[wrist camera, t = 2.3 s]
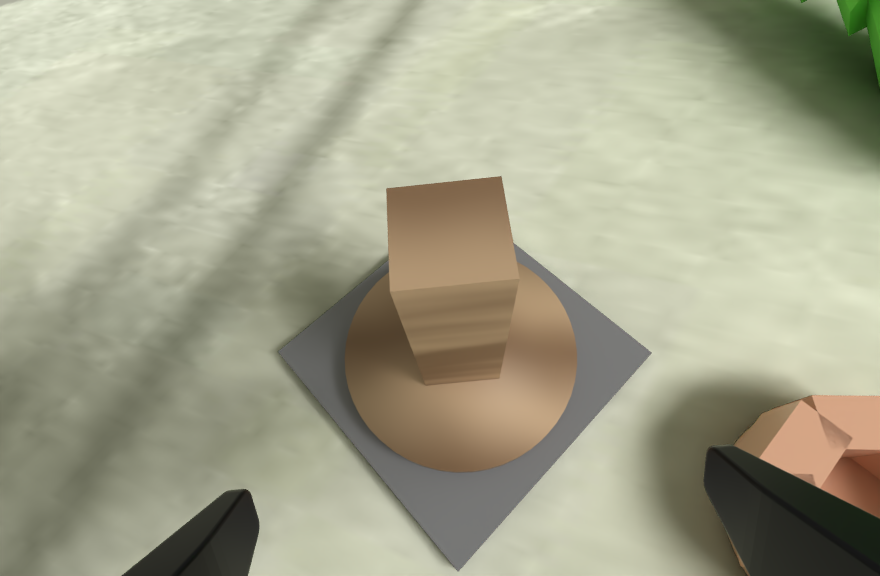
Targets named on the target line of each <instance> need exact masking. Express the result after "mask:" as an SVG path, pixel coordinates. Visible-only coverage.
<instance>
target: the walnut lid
mask: <svg viewBox="0 0 880 576" xmlns="http://www.w3.org/2000/svg"><path fill="white" fill-rule="evenodd" d="M386 191H387V221H388V251H389V272H388V273H387V274H386V275H385V276H384V277H382V278H381V279H380V280H379V281H378V282H377V283H376V284H375V285H374V286H373V287H372V289H371V290H370V291H369V292H368V293H367V295H366V296H365V298H364V299H363V301H362V302H361V304H360V305H359V307H358V309H357V311H356V313H355V315H354V317H353V320H352V323H351V325H350V328H349V332H348V336H347V341H346V348H345V373H346V378H347V384H348V388H349V391H350V394H351V397H352V400H353V402H354V404H355V406H356V408H357V410H358V412H359V414H360V416H361V417H362V419H363V420H364V422H365V423H366V425H367V426H368V428H369V429H370V430H371V431H372V432H373V433H374V434H375V435H376V436H377V437H378V438H379V440H381V441H382V442H383V443H384V444H386V445H387V446H388V447H389V448H390V449H392V450H393V451H394V452H396V453H398V454H399V455H401V456H403V457H404V458H406V459H408V460H409V461H412V462H414V463H416V464H419V465H421V466H424V467H427V468H431V469H435V470H439V471H446V472H454V473H461V472H477V471H483V470H488V469H492V468H495V467H498V466H501V465H504V464H506V463H508V462H510V461H513V460H515V459H517V458H519V457H520V456H522V455H523V454H525V453H526V452H528V451H529V450H531V449H532V448H533V447H534V446H535V445H537V444H538V443H539V442H540V441H541V440H542V439H543V438H544V437H545V436H546V435H547V434H548V433H549V432H550V430H551V429H552V428H553V427H554V426H555V424H556V423H557V422H558V420H559V418H560V417H561V415H562V413H563V412H564V410H565V408H566V406H567V404H568V401H569V399H570V397H571V394H572V390H573V387H574V383H575V378H576V370H577V348H576V341H575V335H574V332H573V329H572V325H571V322H570V320H569V317H568V315H567V313H566V311H565V309H564V307H563V305H562V304H561V302H560V300H559V299H558V297H557V296H556V295H555V293H554V292H553V291H552V290H551V288H550V287H549V286H548V285H547V284H546V283H545V282H544V281H543V280H542V279H541V278H540V277H539V276H538V275H536V274H535V273H534V272H532V271H531V270H530V269H528V268H527V267H525V266H524V265H522V264H520V263H518V262H517V261H516V255H515V250H514V244H513V239H512V233H511V227H510V222H509V216H508V211H507V205H506V200H505V194H504V188H503V183H502V177H501V176H500V177H490V178H481V179H471V180H462V181H453V182H443V183H434V184H424V185H415V186H406V187H396V188H387V189H386Z"/></svg>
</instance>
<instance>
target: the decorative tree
mask: <svg viewBox="0 0 880 576" xmlns="http://www.w3.org/2000/svg"><path fill="white" fill-rule="evenodd" d="M805 1H807V0H801V3H803V2H805ZM837 3H838V6H839V9H840V12H841V15H842V18H843V21H844V24H845V27H846V30H847V33H848V36H850V35H852V34H854V33H856V32H858V31H860V30H862V29H863V28H865V27H867V29H868V34H869V39H870V44H871V49H872V54H873V58H874V63H875V68H876V73H877V78H878V83H879V88H880V0H837Z"/></svg>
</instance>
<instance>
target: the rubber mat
mask: <svg viewBox="0 0 880 576" xmlns="http://www.w3.org/2000/svg"><path fill="white" fill-rule="evenodd" d="M513 244H514V243H513ZM514 250H515V255H516V261H517V262H518V263H520V264H522V265H524V266H525V267H527V268H528V269H530V270H531V271H532V272H534V273H535V274H536V275H538V276H539V277H540V278H541V279H542V280H543V281H544V282H545V283H546V284H547V285H548V286H549V287H550V288H551V290H552V291H553V292H554V293H555V295H556V296H557V297H558V299H559V300H560V302H561V304H562V305H563V307H564V309H565V311H566V313H567V315H568V317H569V320H570V322H571V325H572V329H573V332H574V335H575V341H576V348H577V370H576V378H575V383H574V387H573V390H572V394H571V397H570V399H569V401H568V404H567V406H566V408H565V410H564V412H563V413H562V415H561V417H560V418H559V420H558V422H557V423H556V424H555V426H554V427H553V428H552V429H551V430H550V432H549V433H548V434H547V435H546V436H545V437H544V438H543V439H542V440H541V441H540V442H539V443H538V444H537V445H535V446H534V447H533V448H532V449H531V450H529V451H528V452H526V453H525V454H523V455H522V456H520V457H519V458H517V459H515V460H513V461H510V462H508V463H506V464H504V465H501V466H498V467H495V468H492V469H488V470H483V471H477V472H461V473H454V472H446V471H439V470H435V469H431V468H427V467H424V466H421V465H419V464H416V463H414V462H412V461H409V460H408V459H406V458H404V457H403V456H401V455H399V454H398V453H396V452H394V451H393V450H392V449H390V448H389V447H388V446H387V445H386V444H384V443H383V442H382V441H381V440H379V438H378V437H377V436H376V435H375V434H374V433H373V432H372V431H371V430H370V429H369V428H368V426H367V425H366V423H365V422H364V420H363V419H362V417H361V416H360V414H359V412H358V410H357V408H356V406H355V404H354V402H353V400H352V397H351V394H350V391H349V388H348V384H347V378H346V373H345V348H346V341H347V336H348V332H349V328H350V325H351V323H352V320H353V317H354V315H355V313H356V311H357V309H358V307H359V305H360V304H361V302H362V301H363V299H364V298H365V296H366V295H367V293H368V292H369V291H370V290H371V289H372V287H373V286H374V285H375V284H376V283H377V282H378V281H379V280H380V279H381V278H382V277H384V276H385V275H386V274H387V273H388V272H389V260H388V261H387V262H385V263H384V264H383V265H382V266H381V267H379V268H378V269H377V270H376V271H375V272H373V273H372V274H371V275H370V276H369V277H367V278H366V279H365V280H364V281H363V282H361V283H360V284H359V285H358V286H356V287H355V288H354V289H353V290H352V291H350V292H349V293H348V294H347V295H346V296H344V297H343V298H342V299H341V300H340V301H338V302H337V303H336V304H335V305H334V306H332V307H331V308H330V309H329V310H327V311H326V312H325V313H324V314H323V315H321V316H320V317H319V318H318V319H317V320H315V321H314V322H313V323H312V324H311V325H309V326H308V327H307V328H306V329H305V330H303V331H302V332H301V333H300V334H298V335H297V336H296V337H295V338H294V339H292V340H291V341H290V342H289V343H288V344H286V345H285V346H284V347H283V348H282V349H280V350H279V351H278V353H279V354H280V355H281V356H282V358H283V359H284V360H285V361H286V362H287V364H288V365H289V366H290V367H291V368H292V370H293V371H294V372H295V373H296V375H297V376H298V377H299V378H300V379H301V381H302V382H303V383H304V384H305V386H306V387H307V388H308V389H309V390H310V392H311V393H312V394H313V395H314V397H315V398H316V399H317V400H318V401H319V403H320V404H321V405H322V406H323V408H324V409H325V410H326V411H327V412H328V414H329V415H330V416H331V417H332V418H333V420H334V421H335V422H336V423H337V425H338V426H339V427H340V428H341V429H342V431H343V432H344V433H345V434H346V436H347V437H348V438H349V439H350V440H351V442H352V443H353V444H354V445H355V447H356V448H357V449H358V450H359V451H360V453H361V454H362V455H363V456H364V458H365V459H366V460H367V461H368V462H369V464H370V465H371V466H372V467H373V468H374V470H375V471H376V472H377V473H378V475H379V476H380V477H381V478H382V479H383V481H384V482H385V483H386V484H387V486H388V487H389V488H390V489H391V490H392V492H393V493H394V494H395V495H396V497H397V498H398V499H399V500H400V501H401V503H402V504H403V505H404V506H405V508H406V509H407V510H408V511H409V512H410V514H411V515H412V516H413V517H414V518H415V520H416V521H417V522H418V523H419V525H420V526H421V527H422V528H423V529H424V531H425V532H426V533H427V534H428V536H429V537H430V538H431V539H432V540H433V542H434V543H435V544H436V545H437V547H438V548H439V549H440V550H441V551H442V553H443V554H444V555H445V556H446V558H447V559H448V560H449V561H450V562H451V564H452V565H453V566H454V567H455V568H456V570H457V571H459V570H460V569H461V568H462V567H463V566H464V564H465V563H466V562H467V561H468V560H469V559H470V558H471V557H472V555H473V554H474V553H475V552H476V551H477V550H478V549H479V548H480V546H481V545H482V544H483V543H484V542H485V541H486V540H487V538H488V537H489V536H490V535H491V534H492V533H493V532H494V531H495V529H496V528H497V527H498V526H499V525H500V524H501V523H502V522H503V520H504V519H505V518H506V517H507V516H508V515H509V514H510V513H511V511H512V510H513V509H514V508H515V507H516V506H517V505H518V503H519V502H520V501H521V500H522V499H523V498H524V497H525V496H526V494H527V493H528V492H529V491H530V490H531V489H532V488H533V487H534V485H535V484H536V483H537V482H538V481H539V480H540V479H541V477H542V476H543V475H544V474H545V473H546V472H547V471H548V470H549V468H550V467H551V466H552V465H553V464H554V463H555V462H556V461H557V459H558V458H559V457H560V456H561V455H562V454H563V453H564V452H565V450H566V449H567V448H568V447H569V446H570V445H571V444H572V442H573V441H574V440H575V439H576V438H577V437H578V436H579V435H580V433H581V432H582V431H583V430H584V429H585V428H586V427H587V426H588V424H589V423H590V422H591V421H592V420H593V419H594V418H595V416H596V415H597V414H598V413H599V412H600V411H601V410H602V409H603V407H604V406H605V405H606V404H607V403H608V402H609V401H610V400H611V398H612V397H613V396H614V395H615V394H616V393H617V392H618V391H619V389H620V388H621V387H622V386H623V385H624V384H625V383H626V381H627V380H628V379H629V378H630V377H631V376H632V375H633V374H634V372H635V371H636V370H637V369H638V368H639V367H640V366H641V365H642V363H643V362H644V361H645V360H646V359H647V358H648V357H649V355H650V354H651V352H650V351H649V350H648V349H646V348H645V347H644V346H643V345H641V344H640V343H639V342H638V341H636V340H635V339H634V338H633V337H631V336H630V335H629V334H627V333H626V332H625V331H624V330H622V329H621V328H620V327H619V326H617V325H616V324H615V323H614V322H612V321H611V320H610V319H609V318H607V317H606V316H605V315H604V314H602V313H601V312H600V311H599V310H597V309H596V308H595V307H594V306H592V305H591V304H590V303H588V302H587V301H586V300H585V299H583V298H582V297H581V296H580V295H578V294H577V293H576V292H575V291H573V290H572V289H571V288H570V287H568V286H567V285H566V284H565V283H563V282H562V281H561V280H560V279H558V278H557V277H556V276H555V275H553V274H552V273H551V272H549V271H548V270H547V269H546V268H544V267H543V266H542V265H541V264H539V263H538V262H537V261H536V260H534V259H533V258H532V257H531V256H529V255H528V254H527V253H526V252H524V251H523V250H522V249H521V248H519V247H518V246H517V245H516V244H514Z"/></svg>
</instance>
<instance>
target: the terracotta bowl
mask: <svg viewBox="0 0 880 576" xmlns="http://www.w3.org/2000/svg"><path fill="white" fill-rule="evenodd" d="M734 446H736V447H738V448H740V449H742V450H744V451H746V452H748V453H750V454H752V455H754V456H756V457H758V458H760V459H762V460H764V461H766V462H768V463H770V464H772V465H774V466H776V467H778V468H780V469H782V470H784V471H786V472H788V473H790V474H792V475H794V476H796V477H798V478H800V479H802V480H804V481H806V482H808V483H810V484H812V485H814V486H816V487H818V488H820V489H822V490H824V491H826V492H828V493H830V494H832V495H834V496H836V497H838V498H840V499H842V500H844V501H846V502H848V503H850V504H852V505H854V506H856V507H858V508H860V509H862V510H864V511H866V512H868V513H870V514H872V515H874V516H876V517H878V518H880V396H828V395H811V396H808V397H805V398H803V399H800V400H797V401H794V402H791V403H788V404H785V405H782V406H779V407H776V408H773V409H771V410H770V411H767V412H764V413H762V414H761V415H760V416H759V418H758V419H757V420H756V422H755V423H754V424H753V426H751V427H750V428H749V429H747V430H746V431H745V432H744V433H743V434H742V435H741V436H740V437H739V438H738V440H737V441H736V442H735V444H734ZM728 537H729V535H728ZM729 540H730V542H731V544H732V547H733V549H734V552H735V554H736V556H737V558H738V560H739V563H740V566H742V567H743V569H744V570H745V572H746V573H747V575H748V576H750V575H749V573H748V571H747V570H746V568H745V566H744V564H743V562H742V561H741V559H740V557H739V555H738V553H737V551H736V549H735V547H734V545H733V543H732V541H731V539H730V537H729Z"/></svg>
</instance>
